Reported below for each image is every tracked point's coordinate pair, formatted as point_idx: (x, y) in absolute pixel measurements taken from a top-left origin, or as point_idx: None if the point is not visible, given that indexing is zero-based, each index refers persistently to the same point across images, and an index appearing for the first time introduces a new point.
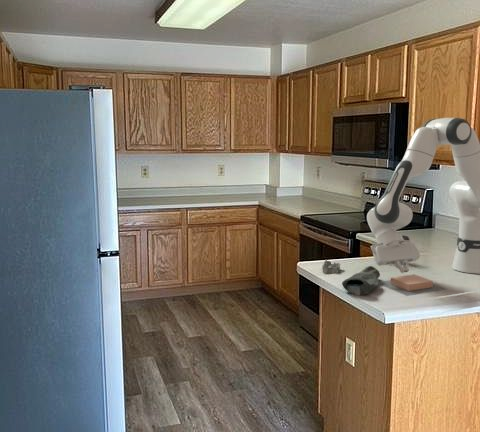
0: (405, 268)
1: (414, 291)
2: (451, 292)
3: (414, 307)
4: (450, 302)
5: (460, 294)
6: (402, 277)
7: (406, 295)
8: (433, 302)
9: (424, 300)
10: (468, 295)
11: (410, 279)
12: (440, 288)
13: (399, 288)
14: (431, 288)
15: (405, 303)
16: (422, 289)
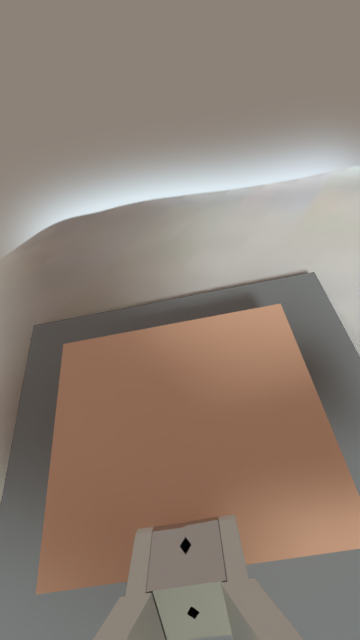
0: (181, 550)
1: None
2: (45, 306)
3: (329, 184)
4: (154, 213)
5: (36, 278)
6: (236, 506)
7: (315, 275)
8: (219, 217)
9: (243, 237)
10: (19, 265)
11: (196, 416)
12: (55, 342)
13: None
14: None
15: (352, 216)
16: None
